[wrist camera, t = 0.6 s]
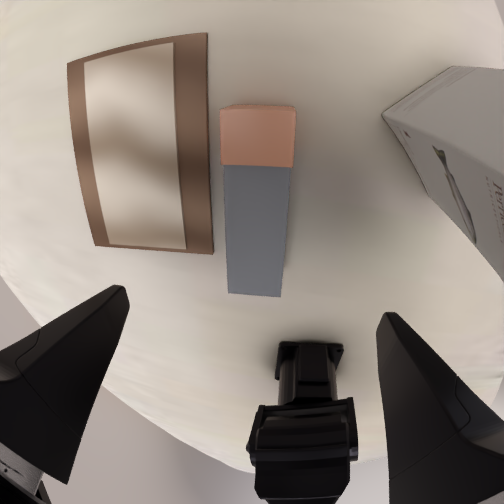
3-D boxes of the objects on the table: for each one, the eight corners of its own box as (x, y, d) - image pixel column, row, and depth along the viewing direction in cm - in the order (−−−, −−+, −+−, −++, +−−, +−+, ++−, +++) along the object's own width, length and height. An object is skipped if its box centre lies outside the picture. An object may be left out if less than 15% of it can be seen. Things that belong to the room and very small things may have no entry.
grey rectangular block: (283, 266, 23) (281, 299, 19) (234, 263, 23) (226, 294, 20) (293, 106, 16) (295, 111, 13) (232, 104, 16) (219, 109, 13)
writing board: (214, 251, 22) (211, 256, 22) (97, 243, 23) (93, 247, 23) (207, 33, 14) (204, 31, 13) (70, 63, 15) (64, 63, 14)
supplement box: (376, 113, 16) (506, 174, 5) (452, 64, 12) (598, 85, 2) (426, 199, 18) (524, 322, 8) (492, 151, 15) (609, 233, 4)
